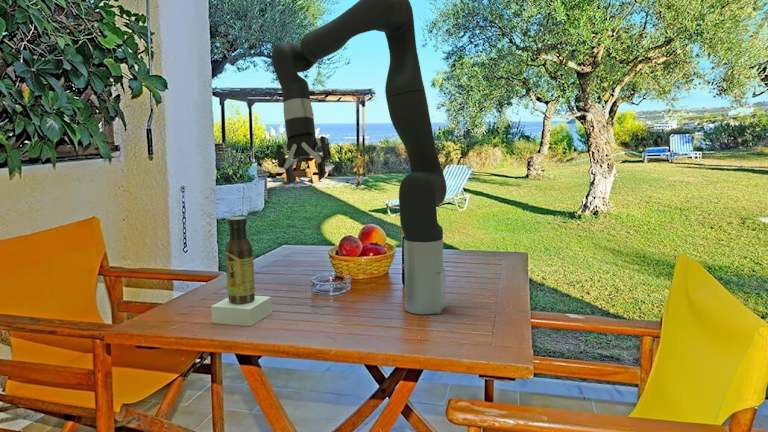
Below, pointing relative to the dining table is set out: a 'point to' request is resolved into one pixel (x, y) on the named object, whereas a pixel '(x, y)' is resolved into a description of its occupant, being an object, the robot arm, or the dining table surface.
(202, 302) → the dining table surface
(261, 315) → the plinth
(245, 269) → the sauce bottle
